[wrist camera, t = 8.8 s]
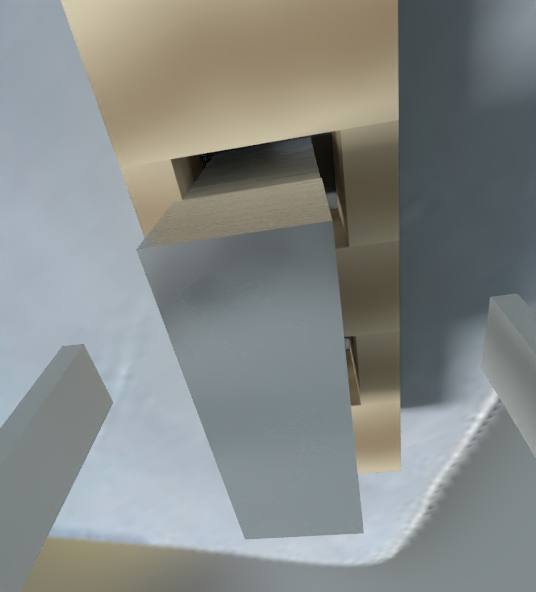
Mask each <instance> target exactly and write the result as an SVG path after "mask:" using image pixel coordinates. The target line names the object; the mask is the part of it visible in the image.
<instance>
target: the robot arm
mask: <svg viewBox="0 0 536 592" xmlns="http://www.w3.org/2000/svg"><path fill="white" fill-rule="evenodd" d="M481 368H482V369H483V371H484V373H485V374H486V376H487V378H488V379H489V381H490V383H491V384H492V386H493V388H494V389H495V391H496V393H497V394H498V396H499V398H500V399H501V401H502V403H503V404H504V406H505V408H506V409H507V411H508V413H509V414H510V416H511V418H512V419H513V421H514V423H515V424H516V426H517V428H518V429H519V431H520V433H521V434H522V436H523V438H524V439H525V441H526V443H527V444H528V446H529V448H530V449H531V451H532V453H533V454H534V456H535V458H536V313H535V312H534V310H533V309H532V308H531V307H530V306H529V305H528V304H527V303H526V302H525V301H524V300H523V299H522V298H521V296H520V295H519V294H509V295H501V296H492V297H490V302H489V310H488V318H487V326H486V333H485V341H484V349H483V357H482V365H481ZM112 404H113V401H112V399H111V397H110V395H109V393H108V391H107V389H106V387H105V385H104V383H103V381H102V379H101V377H100V375H99V373H98V371H97V369H96V367H95V366H94V364H93V362H92V360H91V358H90V356H89V354H88V352H87V350H86V348H85V346H84V344H79V345H70V346H62V348H61V349H60V350H59V352H58V353H57V354H56V356H55V357H54V358H53V360H52V361H51V362H50V364H49V365H48V366H47V368H46V369H45V370H44V371H43V373H42V374H41V375H40V377H39V378H38V379H37V381H36V382H35V383H34V385H33V386H32V387H31V389H30V390H29V391H28V393H27V394H26V395H25V397H24V398H23V399H22V401H21V402H20V403H19V405H18V406H17V407H16V409H15V410H14V411H13V413H12V414H11V415H10V417H9V418H8V419H7V421H6V422H5V423H4V424H3V426H2V427H1V428H0V592H20V591H21V589H22V587H23V585H24V583H25V581H26V579H27V577H28V575H29V573H30V571H31V569H32V567H33V565H34V563H35V560H36V558H37V556H38V554H39V552H40V550H41V548H42V546H43V544H44V542H45V540H46V538H47V536H48V534H49V532H50V530H51V528H52V526H53V524H54V522H55V520H56V518H57V516H58V514H59V512H60V510H61V508H62V506H63V504H64V502H65V500H66V498H67V496H68V493H69V491H70V489H71V487H72V485H73V483H74V481H75V479H76V477H77V475H78V473H79V471H80V469H81V467H82V465H83V463H84V461H85V459H86V457H87V455H88V453H89V451H90V449H91V447H92V445H93V443H94V441H95V439H96V437H97V435H98V433H99V431H100V429H101V427H102V424H103V422H104V420H105V418H106V416H107V414H108V412H109V410H110V408H111V406H112Z"/></svg>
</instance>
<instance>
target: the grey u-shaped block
mask: <svg viewBox="0 0 536 592" xmlns="http://www.w3.org/2000/svg"><path fill="white" fill-rule="evenodd" d="M137 252H138V255H139V257H140V260H141V263H142V265H143V268H144V271H145V273H146V276H147V279H148V281H149V284H150V287H151V289H152V292H153V295H154V297H155V300H156V303H157V305H158V308H159V311H160V313H161V316H162V319H163V321H164V324H165V327H166V329H167V332H168V335H169V337H170V340H171V343H172V345H173V348H174V351H175V353H176V356H177V359H178V361H179V364H180V367H181V369H182V372H183V375H184V377H185V380H186V383H187V385H188V388H189V391H190V393H191V396H192V399H193V401H194V404H195V407H196V409H197V412H198V415H199V417H200V420H201V423H202V425H203V428H204V431H205V433H206V436H207V439H208V441H209V444H210V447H211V449H212V452H213V455H214V457H215V460H216V463H217V465H218V468H219V471H220V473H221V476H222V479H223V481H224V484H225V487H226V489H227V492H228V495H229V497H230V500H231V503H232V505H233V508H234V511H235V513H236V516H237V519H238V521H239V524H240V527H241V529H242V532H243V535H244V537H245V539H260V538H279V537H299V536H318V535H337V534H357V533H364V532H363V522H362V512H361V502H360V492H359V482H358V472H357V462H356V452H355V442H354V432H353V422H352V412H351V402H350V392H349V382H348V372H347V362H346V352H345V342H344V331H343V321H342V311H341V301H340V291H339V281H338V271H337V261H336V251H335V241H334V231H333V221H332V217H331V213H330V209H329V205H328V201H327V197H326V193H325V189H324V185H323V181H322V178H320V174H319V170H318V166H317V162H316V158H315V154H314V150H313V146H312V141H311V137H305V138H299V139H293V140H288V141H282V142H276V143H271V144H265V145H259V146H254V147H248V148H242V149H237V150H231V151H225V152H220V153H215V154H214V155H213V157H212V158H211V160H210V161H209V162H208V164H207V165H206V167H205V168H204V170H203V171H202V173H201V174H200V175H199V177H198V178H197V180H196V181H195V183H194V184H193V186H192V187H191V188H190V190H189V191H188V193H187V194H186V196H185V197H184V199H183V200H182V201H176V202H172V203H171V204H170V206H169V207H168V208H167V210H166V211H165V212H164V214H163V215H162V216H161V218H160V219H159V220H158V222H157V223H156V224H155V226H154V227H153V228H152V230H151V231H150V232H149V234H148V235H147V236H146V238H145V239H144V240H143V242H142V243H141V244H140V246H139V247H138V248H137Z"/></svg>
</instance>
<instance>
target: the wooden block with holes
mask: <svg viewBox="0 0 536 592" xmlns="http://www.w3.org/2000/svg"><path fill="white" fill-rule="evenodd" d="M61 2H62V5H63V8H64V10H65V13H66V16H67V19H68V22H69V25H70V27H71V30H72V33H73V36H74V39H75V42H76V44H77V47H78V50H79V53H80V56H81V59H82V61H83V64H84V67H85V70H86V73H87V76H88V78H89V81H90V84H91V87H92V90H93V93H94V95H95V98H96V101H97V104H98V107H99V110H100V112H101V115H102V118H103V121H104V124H105V127H106V129H107V132H108V135H109V138H110V141H111V144H112V146H113V149H114V152H115V155H116V158H117V161H118V164H119V166H120V169H121V172H122V175H123V178H124V181H125V183H126V186H127V189H128V192H129V195H130V198H131V200H132V203H133V206H134V209H135V212H136V215H137V217H138V220H139V223H140V226H141V229H142V232H143V234H144V237H145V238H146V236H147V235H148V234H149V232H150V231H151V230H152V228H153V227H154V226H155V224H156V223H157V222H158V220H159V219H160V218H161V216H162V215H163V214H164V212H165V211H166V210H167V208H168V207H169V206H170V204H171V203H172V202H176V201H182V200H183V199H184V197H185V196H186V194H187V193H188V191H189V190H190V188H191V187H192V186H193V184H194V183H195V181H196V180H197V178H198V177H199V175H200V174H201V173H202V171H203V167H202V163H201V159H200V155H199V154H204V153H210V152H216V151H222V150H227V149H233V148H239V147H245V146H251V145H256V144H262V143H268V142H274V141H280V140H285V139H291V138H297V137H303V136H309V135H314V134H320V133H326V132H331V135H332V147H333V159H334V170H335V182H336V193H337V205H338V209H337V210H330V213H331V217H332V221H333V231H334V241H335V251H336V261H337V271H338V281H339V291H340V301H341V311H342V321H343V331H344V337H349V344H350V350H345V352H346V362H347V372H348V382H349V392H350V402H351V412H352V422H353V432H354V442H355V452H356V462H357V472H358V473H373V472H388V471H401V437H400V261H399V85H398V0H61Z"/></svg>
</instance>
